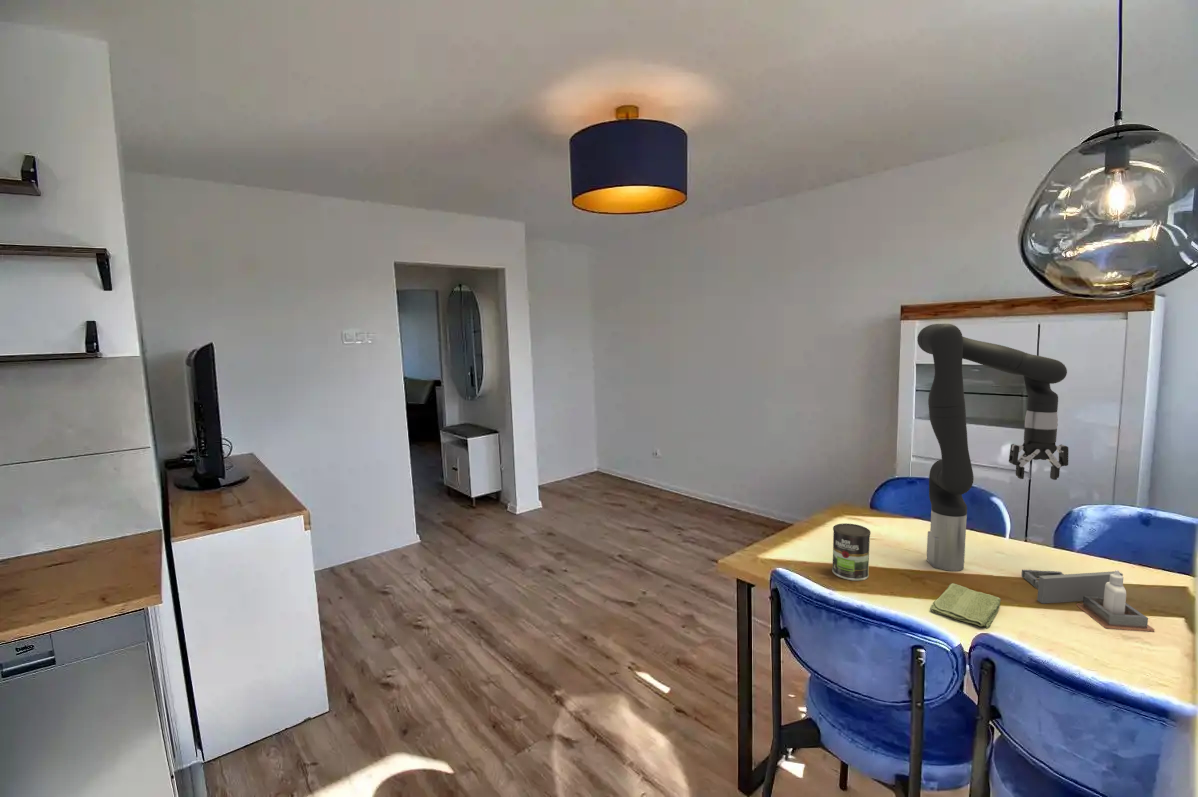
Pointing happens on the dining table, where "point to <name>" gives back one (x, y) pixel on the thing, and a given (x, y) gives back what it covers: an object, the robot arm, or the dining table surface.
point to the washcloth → (967, 605)
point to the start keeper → (1037, 575)
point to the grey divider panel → (1072, 586)
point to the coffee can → (851, 551)
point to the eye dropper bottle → (1115, 594)
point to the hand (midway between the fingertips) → (1036, 478)
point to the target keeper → (1114, 615)
